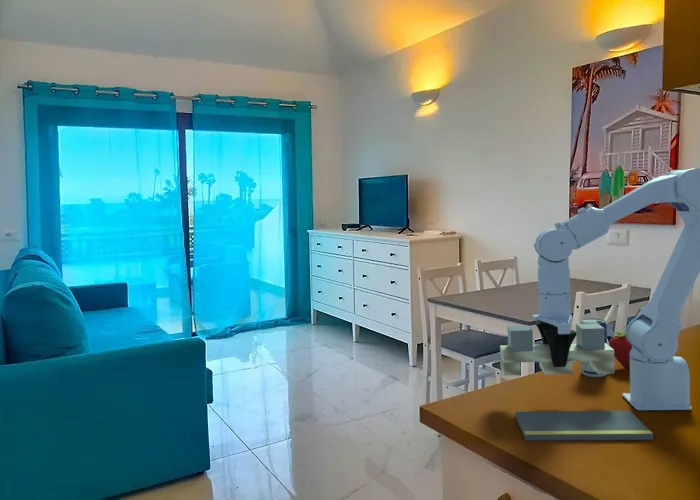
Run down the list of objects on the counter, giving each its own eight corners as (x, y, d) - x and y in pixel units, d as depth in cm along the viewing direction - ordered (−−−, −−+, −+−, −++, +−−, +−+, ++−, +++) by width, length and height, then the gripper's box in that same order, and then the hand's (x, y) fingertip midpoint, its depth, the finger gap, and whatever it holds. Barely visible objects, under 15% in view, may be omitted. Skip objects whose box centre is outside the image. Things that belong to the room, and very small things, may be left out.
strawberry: (641, 375, 122) (641, 330, 121) (605, 369, 127) (604, 326, 126) (649, 368, 127) (648, 324, 126) (613, 363, 132) (612, 320, 131)
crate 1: (528, 345, 111) (528, 325, 111) (533, 350, 107) (532, 330, 107) (508, 345, 112) (507, 326, 111) (511, 351, 108) (510, 330, 107)
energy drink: (610, 377, 122) (609, 323, 121) (583, 377, 123) (582, 323, 122) (604, 370, 127) (603, 317, 126) (578, 370, 128) (577, 318, 127)
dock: (629, 415, 101) (629, 410, 101) (652, 439, 91) (652, 433, 91) (515, 417, 104) (515, 411, 104) (525, 440, 94) (525, 434, 94)
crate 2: (598, 343, 109) (597, 323, 109) (604, 349, 105) (604, 328, 105) (576, 344, 110) (576, 324, 110) (582, 349, 106) (582, 328, 106)
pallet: (605, 365, 110) (605, 342, 110) (614, 373, 105) (614, 349, 105) (500, 367, 113) (500, 345, 112) (504, 375, 108) (503, 352, 107)
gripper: (525, 287, 115) (527, 352, 116) (540, 300, 101) (542, 374, 102) (561, 285, 114) (562, 351, 116) (581, 298, 100) (583, 373, 101)
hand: (555, 362), depth 109 cm, fingers closed on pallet, 5 cm apart
